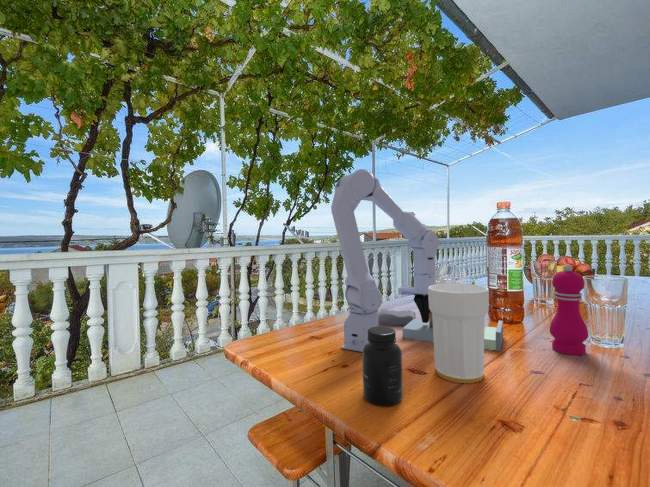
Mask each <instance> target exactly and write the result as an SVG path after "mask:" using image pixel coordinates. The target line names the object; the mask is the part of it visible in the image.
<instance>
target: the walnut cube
mask: <svg viewBox="0 0 650 487" xmlns="http://www.w3.org/2000/svg"><path fill="white" fill-rule="evenodd" d="M429 328H433V320H432V312H430V313H429Z"/></svg>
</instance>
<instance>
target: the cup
mask: <svg viewBox="0 0 650 487" xmlns="http://www.w3.org/2000/svg"><path fill="white" fill-rule="evenodd" d="M489 299H490V290H489V288H488V287H486V286H483V285H480V284H479V285H478V284H471V283H454V282H453V283H452V282H451V283H438V284H437V283H436V284H435V285H431V286H429V287H428V300H429V309H430V311H431V312H432V320H433V338H434V342H433V350H434V351H433V352H434V353H433V355H434V356H433V357H434V372H435V374H436V375H437V376H438V377H441V379H444V380H446V381H449V382H452V383H456V384H457V383H458V384H463V383H464V384H465V383H468V384H475V382H476V383H479V381H480V382H482V381H483V380H484V378H485V370H484V369H485V368H484V367H485V366H484V365H485V363H484V362H485V349H484V326H485V317H486V315H487V314H488V313H489V308H490V307H489V306H490V305H489V303H490V302H489V301H490V300H489ZM482 379H483V380H482Z"/></svg>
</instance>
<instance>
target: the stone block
mask: <svg viewBox="0 0 650 487" xmlns="http://www.w3.org/2000/svg"><path fill="white" fill-rule="evenodd" d="M413 319H417V316H416V312H415V311H413V310H399V311H398V310H392V309H384V308H381V309H380V310H378V325H380V326H397V327H398V326H400V327H401V326H404V327H405V326H406V325H407V324H408V323H409V322H411V321H412V320H413Z"/></svg>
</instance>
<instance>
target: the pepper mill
mask: <svg viewBox="0 0 650 487" xmlns="http://www.w3.org/2000/svg"><path fill="white" fill-rule="evenodd" d="M562 268H563V269H562V270H563V271H560V272H559V271H558V272H556V273H555V275H554V276H553V278H552V280H551V281H552V282H551V284H552V286H553V288H554V289H555V290H556V291H554V294H555V295H554V297H555V299H556V300H557V309H556V312H555V315H554V316H553V318H552V320H551V321H550V325H549V333H550V335H551V336H552V337H553V340H551V345H552V346H551V347H552V349H553V351H555V352H558V353H561V354H564V355H569V356H570V355H571V356H582V355H585V354H586V353H587V350H586V349H587V348H586V347H587V346H586V344H584V342H585V341H586V340H588V338H589V330H588V327H587V325H586V323H585V321H584V319H583V317H582V316H581V312H580V301H581V300H582V299H583V297H582V295H583V293H582V292H581V291H582V290H583V289H584V288H585V279H584V277H583V276H582V275H581V274H579V273H578V272H575V271H573V270H574V267H573V266H572V265H571V264H565V265H564V266H563V267H562Z"/></svg>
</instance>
